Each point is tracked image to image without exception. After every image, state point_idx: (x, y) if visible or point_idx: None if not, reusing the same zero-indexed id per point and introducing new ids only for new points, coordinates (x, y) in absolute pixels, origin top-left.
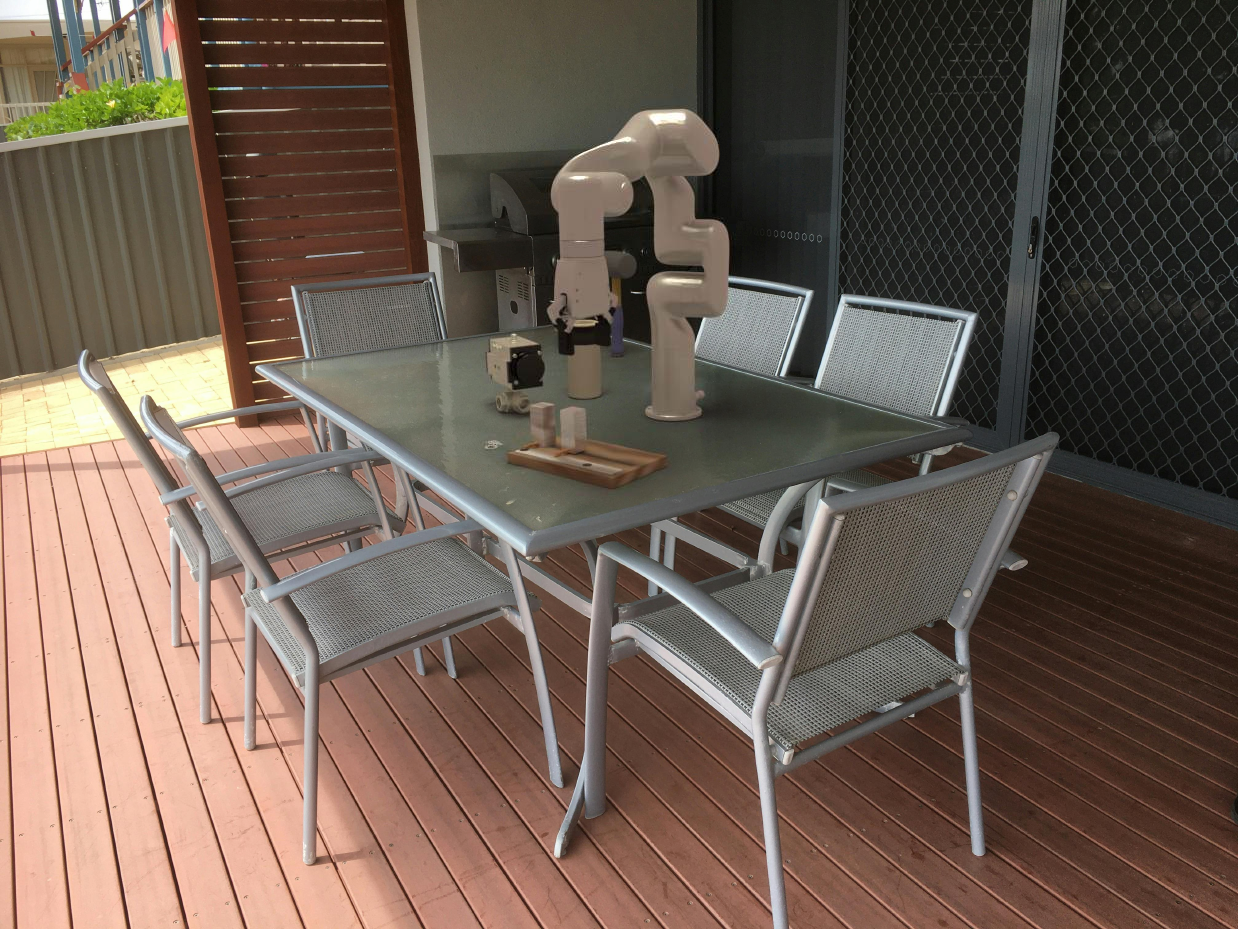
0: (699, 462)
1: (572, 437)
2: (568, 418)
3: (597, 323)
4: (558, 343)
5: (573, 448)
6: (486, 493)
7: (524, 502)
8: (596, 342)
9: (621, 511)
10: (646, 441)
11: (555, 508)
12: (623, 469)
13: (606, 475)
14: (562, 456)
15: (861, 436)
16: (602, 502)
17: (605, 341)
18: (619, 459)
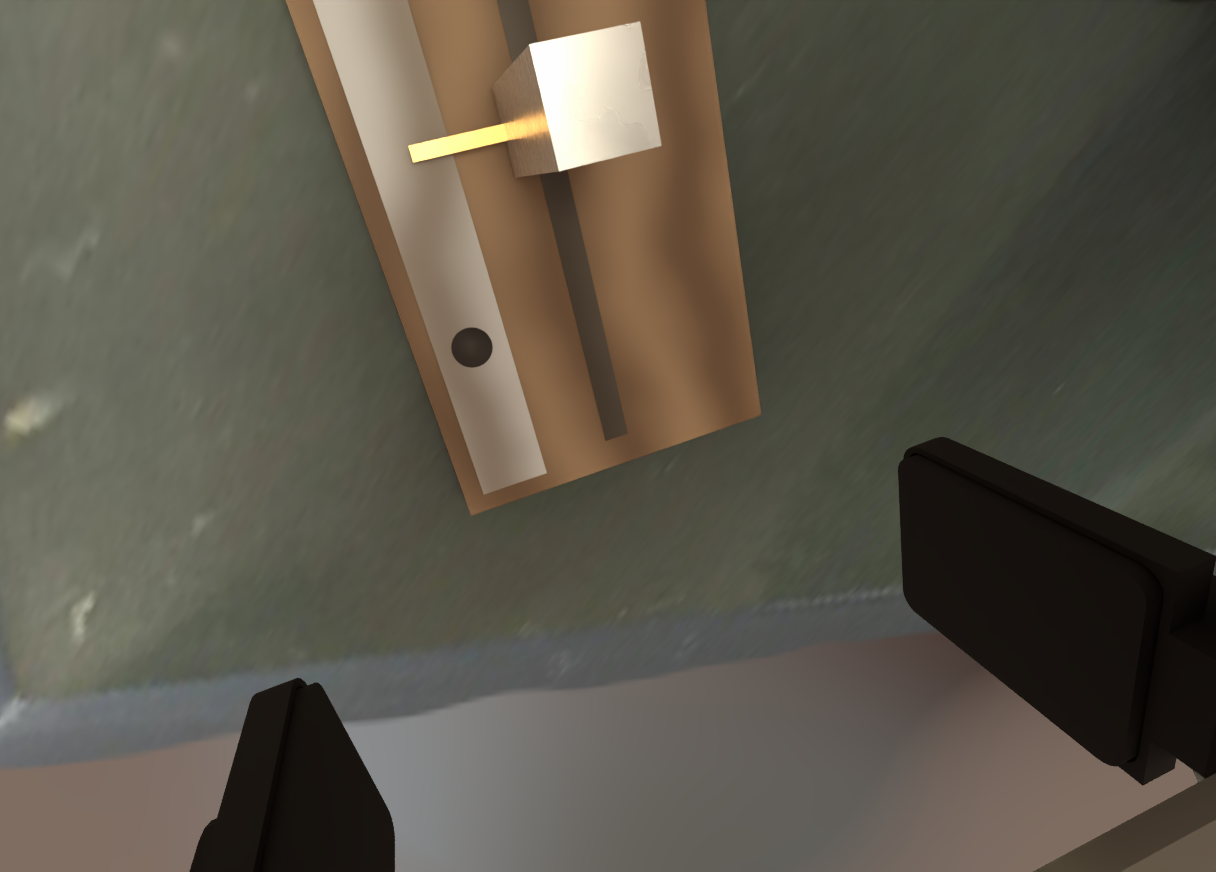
0: (831, 430)
1: (525, 160)
2: (538, 127)
3: (1165, 611)
4: (222, 806)
5: (517, 166)
6: None
7: (93, 447)
8: (916, 477)
9: (377, 670)
10: (895, 109)
11: (187, 558)
12: (559, 456)
13: (471, 479)
14: (446, 171)
15: (1207, 490)
16: (368, 583)
17: (938, 602)
18: (619, 349)
